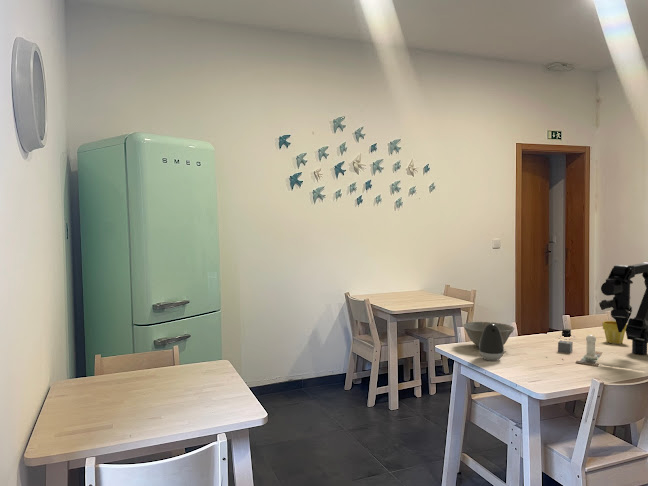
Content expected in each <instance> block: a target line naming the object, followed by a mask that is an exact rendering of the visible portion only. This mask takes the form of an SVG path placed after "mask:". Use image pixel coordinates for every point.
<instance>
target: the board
mask: <svg viewBox="0 0 648 486" xmlns="http://www.w3.org/2000/svg"><path fill="white" fill-rule="evenodd" d="M603 353H604V351H598V350H595V355H597V359H595V360H592V359H586V358H584V356H582V358H581V359H580V360H576V361H575V364H577V365H585V366H592V367H598V366H599V365H600V364H599V363H596V362H598V360H599V359H600V357H601V356H602V354H603Z"/></svg>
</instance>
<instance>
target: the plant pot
mask: <svg viewBox="0 0 648 486" xmlns="http://www.w3.org/2000/svg"><path fill="white" fill-rule="evenodd" d="M627 324H628V323H626V325H627ZM626 325H625V328H624V329H623V330H622V332H618V328H617V323H616V320H614V321H613V320H605V321H602V329H603V330H604V331H603V332H604V335H605V339H606V342H607V343H608V342H609V344H613V343H615V345H621V343H622V344H623V341H624V337H625V334H626V327H627V326H626Z"/></svg>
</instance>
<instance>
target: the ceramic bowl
mask: <svg viewBox="0 0 648 486" xmlns="http://www.w3.org/2000/svg"><path fill="white" fill-rule="evenodd" d="M488 324H495V325H496V326H497V327H498V329H499V330H500V333H501V336H502V340H503V345H505V344H506V343H507V341H508V339H509V338H510V335H512V333H513V332H514V330H515V327H514V326H513V325H512V326H511V325H510V324H506V323H499V322H489V321H470V322H465V323H464V324H463V328H464V330H465V333H466V334H467V336H468V337H467V338H469V340H470V341H471V342H472V343H473V344H474V345H475V346H477V347H478V348H479V342H480V338H481V335H482V332H483V330H484V328H485V326H486V325H488Z"/></svg>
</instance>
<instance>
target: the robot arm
mask: <svg viewBox="0 0 648 486" xmlns="http://www.w3.org/2000/svg"><path fill="white" fill-rule="evenodd" d="M640 274H641V276H642V278H643V280H644V286H645V291H644V294H643V296H642V299H641V301H640V305H639V306H638V310H637V313H636V315H635V317H633V318H631V315H632V313H633V306H631V285H633V284H634V282H633V280H631V279H633V278H635V276H636V275H640ZM600 290H601V293H602V294H603V295H604V296H608V297H609V296H613V297H612V299H608V300H606V299H602V300H601V301H600V302H599V303H598V305H599V307H600V309H601V310H602V311H604V310H606V309H610V308H612V309H611V311H610V316H611V317H612V318H613V319H614V321H616V323H617V328H618V332H622V330H623V329H624V328H625V325H626V324H627V325H626V326H627V327H626V331H625V334H626V338H627V340H630V341H631V343H632V344H631V353H632V354H634V355H637V356H645V355H648V262H646V261H645V262H641V263H636V264H631V265H625V264H615V265H614V266H613V267H612V268H611V270H610V273H609V275H608V276H607V279H606V278H605V282H603V283H602V284H601V286H600Z"/></svg>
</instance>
